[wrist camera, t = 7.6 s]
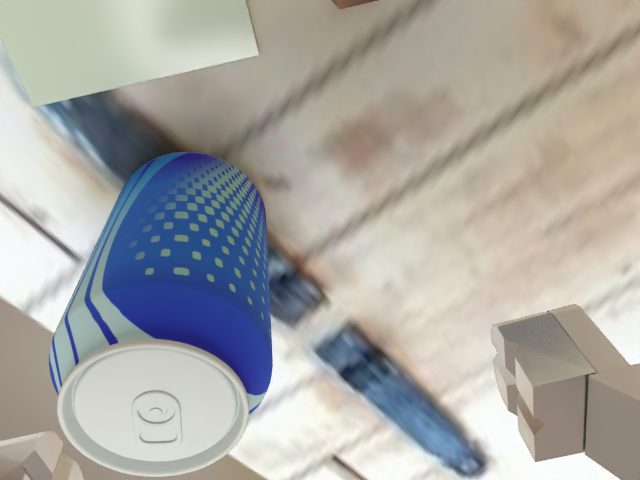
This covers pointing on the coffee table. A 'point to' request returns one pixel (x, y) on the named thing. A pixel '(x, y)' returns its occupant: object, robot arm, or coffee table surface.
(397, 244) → the coffee table surface
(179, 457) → the beer can
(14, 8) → the sage tile
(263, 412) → the coffee table surface
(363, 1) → the walnut block
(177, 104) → the coffee table surface
